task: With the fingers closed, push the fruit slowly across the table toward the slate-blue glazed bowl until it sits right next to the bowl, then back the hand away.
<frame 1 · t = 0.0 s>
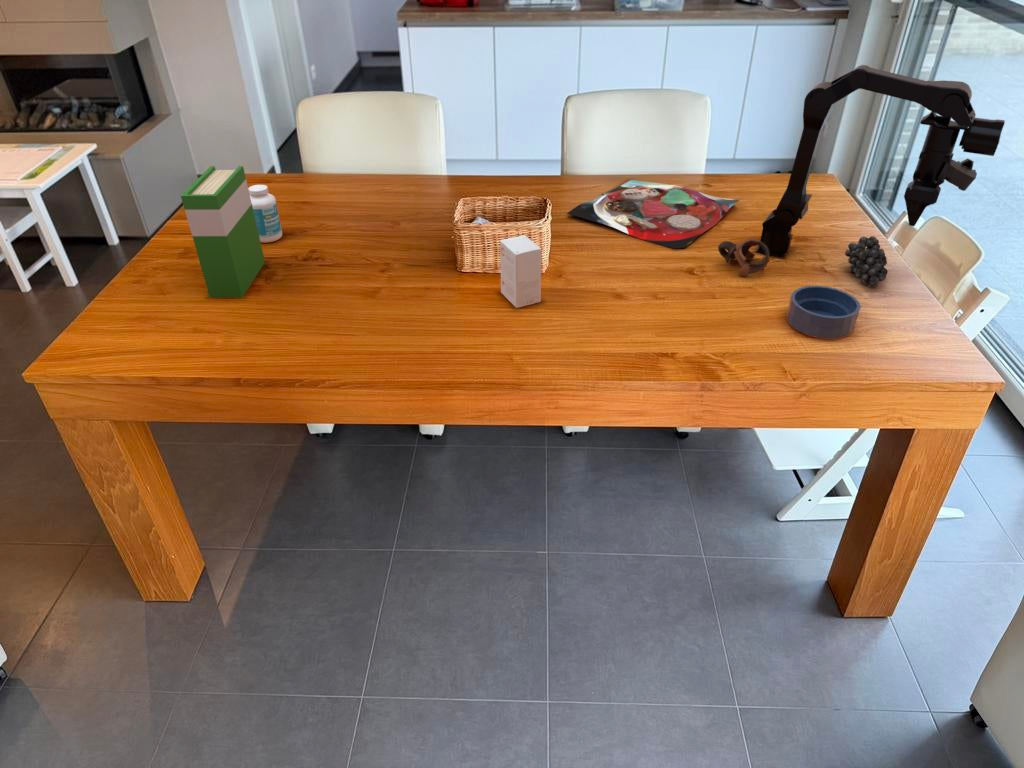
hand: (914, 218, 162), 15 cm above the table, tool pointing down, fingers open, 9 cm apart
pill bottle: (268, 238, 192), on the table
fruit: (862, 278, 171), on the table
hardback book: (238, 279, 174), on the table
bowl: (819, 324, 155), on the table
brown looped ring sculpture: (740, 268, 176), on the table
platter: (653, 212, 203), on the table
small box: (520, 298, 165), on the table
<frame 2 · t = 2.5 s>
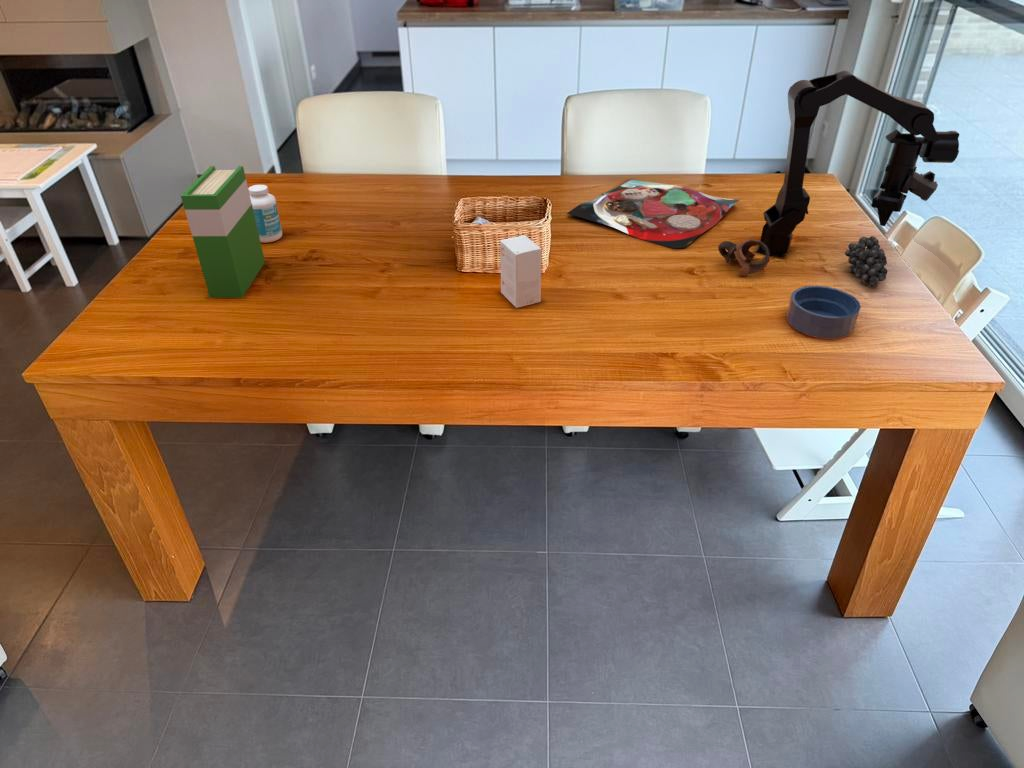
hand: (882, 225, 177), 7 cm above the table, tool pointing down, fingers closed
nothing on the table moved.
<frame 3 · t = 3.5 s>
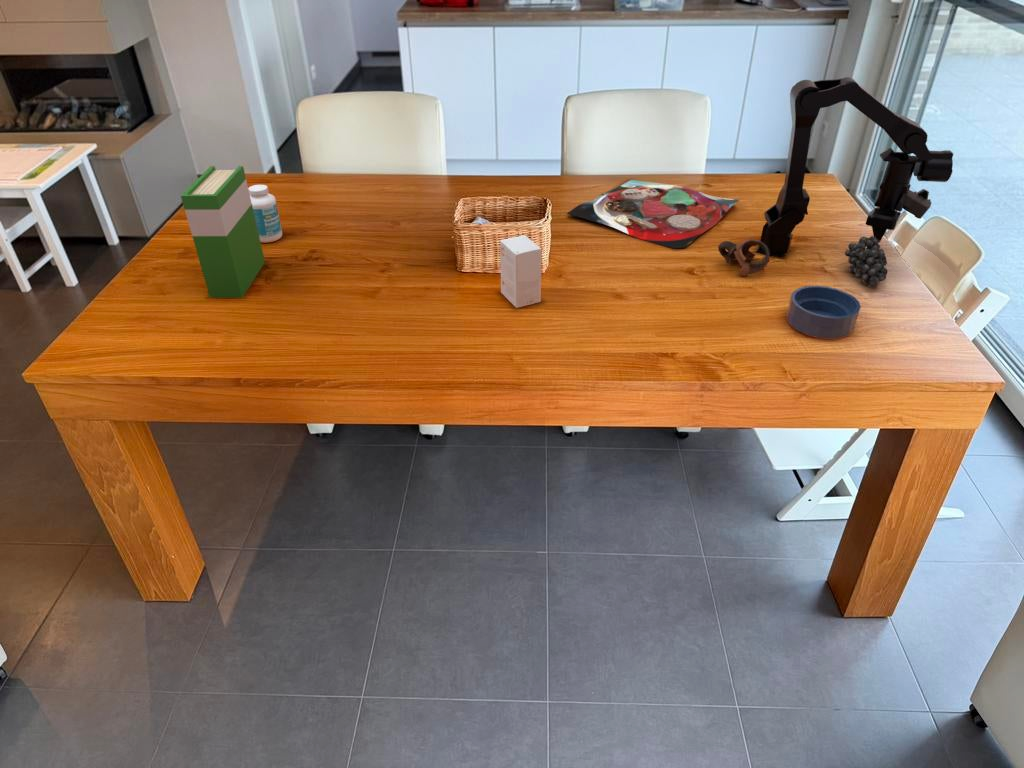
hand: (877, 242, 178), 4 cm above the table, tool pointing down, fingers closed
nothing on the table moved.
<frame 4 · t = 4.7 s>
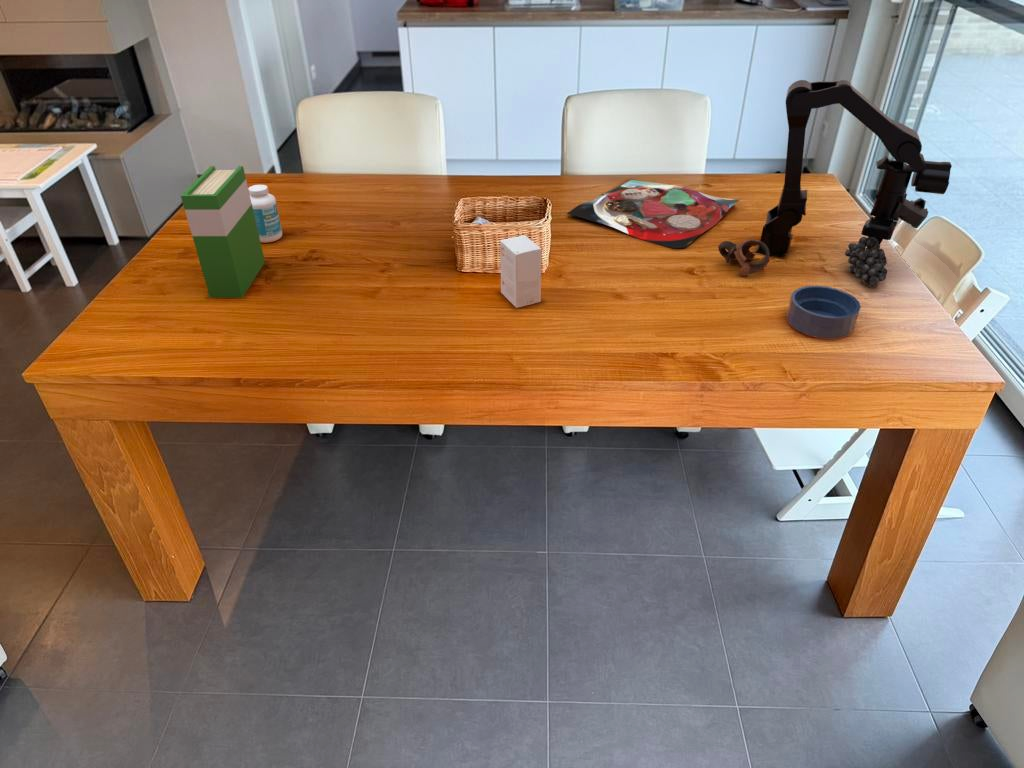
hand: (873, 251, 175), 3 cm above the table, tool pointing down, fingers closed
fruit: (862, 278, 171), on the table, touching gripper
everything else where it was.
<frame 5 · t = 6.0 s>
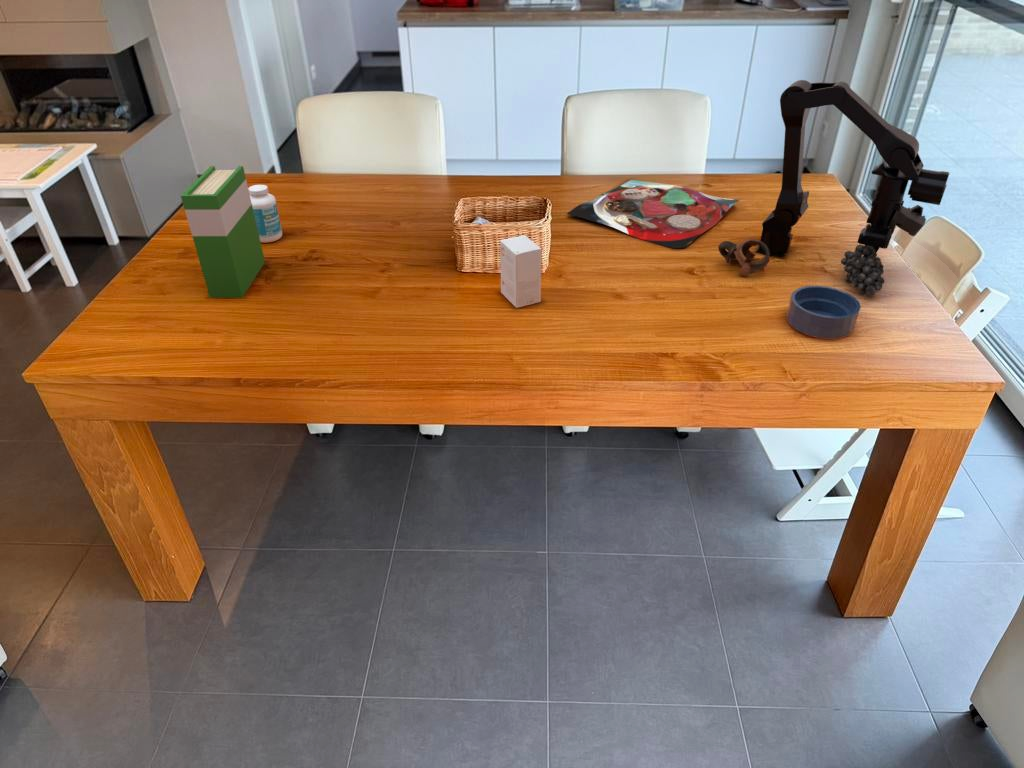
hand: (870, 259, 172), 3 cm above the table, tool pointing down, fingers closed
fruit: (858, 287, 168), on the table, touching gripper
everything else where it was.
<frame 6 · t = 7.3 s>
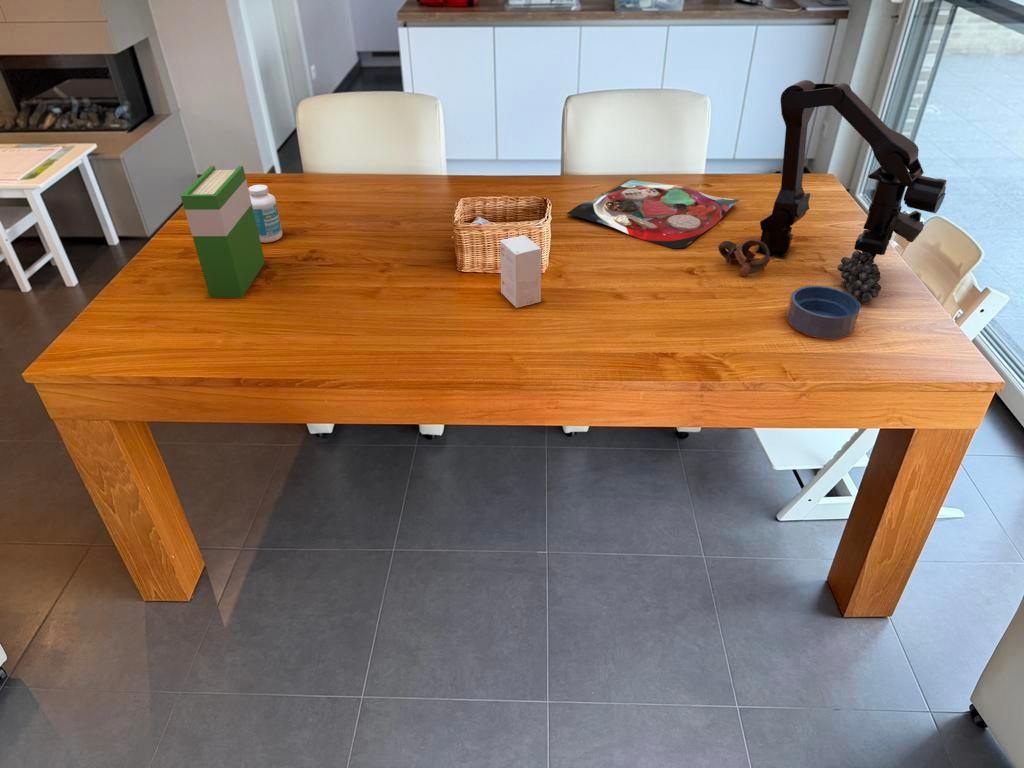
hand: (867, 265, 169), 3 cm above the table, tool pointing down, fingers closed
fruit: (855, 294, 165), on the table, touching gripper
everything else where it was.
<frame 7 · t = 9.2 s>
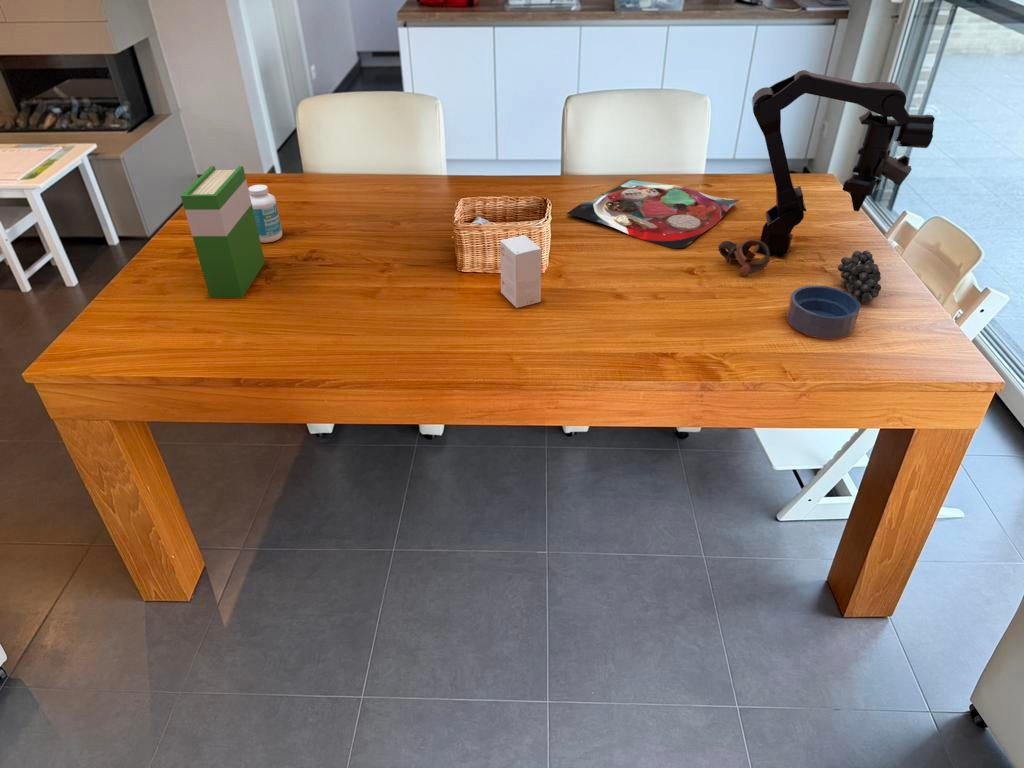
hand: (856, 210, 173), 12 cm above the table, tool pointing down, fingers closed
fruit: (855, 294, 165), on the table
everything else where it was.
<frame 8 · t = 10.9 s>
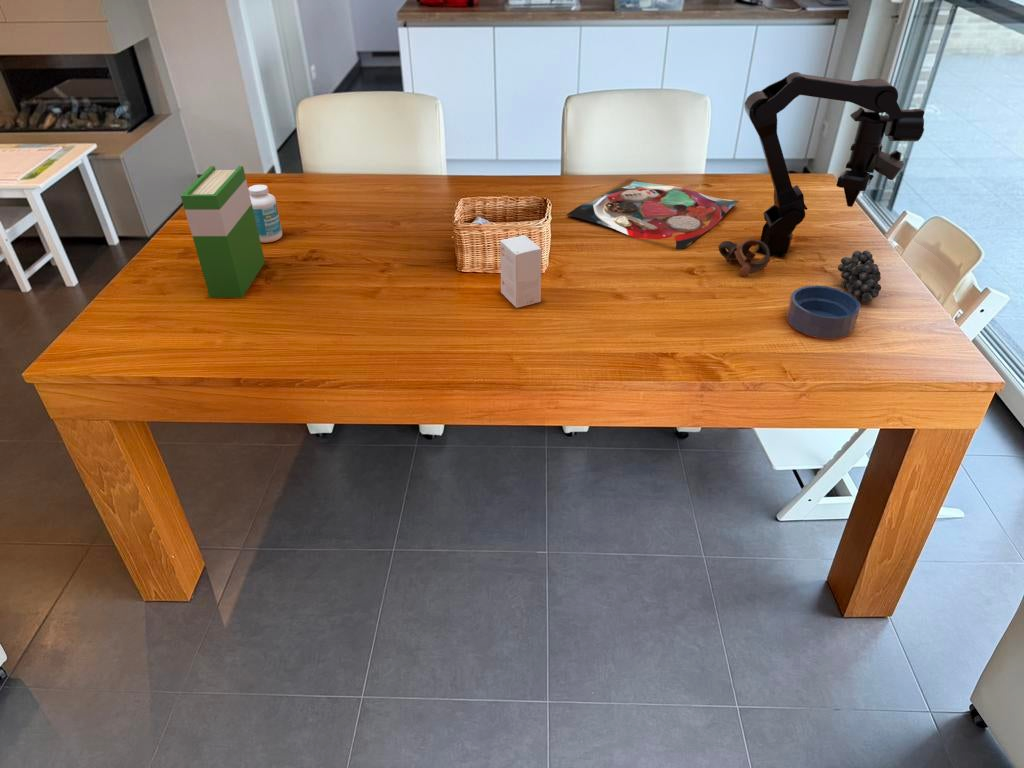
hand: (849, 206, 175), 12 cm above the table, tool pointing down, fingers closed
nothing on the table moved.
at the end: fruit 17.9 cm from the bowl (horizontally); fruit moved 8.6 cm from its start; the gripper is holding nothing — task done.
